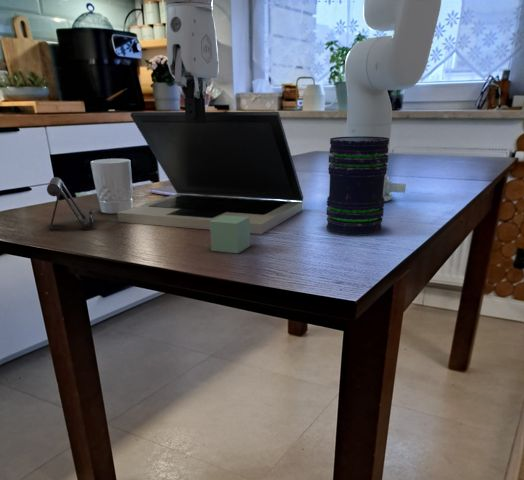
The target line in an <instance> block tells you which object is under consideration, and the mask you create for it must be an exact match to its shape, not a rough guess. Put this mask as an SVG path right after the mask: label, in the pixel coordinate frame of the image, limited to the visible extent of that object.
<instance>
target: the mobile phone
mask: <svg viewBox="0 0 524 480" xmlns="http://www.w3.org/2000/svg"><path fill="white" fill-rule="evenodd" d="M148 191H149V193H151V194H156V195H161V196H167V197H169V196H172V195H175V194H181V193H177V192H176V190H175V189H174V187H173V185H166V186H159V187H154V188H150V189H149V190H148ZM188 195H197V194H188Z"/></svg>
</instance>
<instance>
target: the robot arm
mask: <svg viewBox="0 0 524 480" xmlns="http://www.w3.org/2000/svg"><path fill="white" fill-rule="evenodd" d="M363 1H364V2H363V8H362V17H363V18H362V19H363V21H364V24H365V26H366V27H367V28H368V29H369V30H371V31H374V32H390V31H393V34H392V35H382V36H376V37H369V38H366V39H365V38H364V39H363V40H360V41H359V42H357V43H356V44H354V45H353V47H351V48H350V50H349V51H348V53H347V55H346V59H345V63H344V79H345V87H346V104H347V105H346V127H345V137H355V136H367V137H385V138H389V144H388V153H387V154H386V155H388V157H389V156H390V155H389V154H390V143H391V133H392V132H391V131H392V123H393V106H392V102H391V99H390V95H389V92H388V91H402V90H408V89H411V88H413V87H414V86H415V85H416V84H418V83H419V81H420V80H421V78H422V77H423V75H424V73H425V71H426V69H427V66H428V65H427V64H428V61H429V57H430V53H431V50H432V46H433V41H434V37H435V33H436V30H437V29H436V28H437V24H438V20H439V16H440V11H441V7H442V0H363ZM165 9H166V53H167V64H168V70H169V73H170V74H171V75H172V76H173V78H174V84H175V85H176V86H178V87H180V89H181V94H182V98H183V101H184V112H185V118H186V123H205V122H206V115H205V112H206V98H207V88H208V87H210V86H211V84H212V79H216V78H218V76H219V73H220V68H219V66H220V65H219V51H218V50H219V49H218V41H217V40H218V39H217V31H216V25H215V19H214V14H213V13H214V12H213V11H214V10H213V9H214V8H213V0H165ZM385 164H387V168H388V166H389V162H388V163H385ZM390 179H391V177H390V176H388V172H387V173H386V175H385V177H384V189H383V198H384V203H385V202H388V201H391V200H392V199H393V193H397V194H399V193H400V194H405V193H406V189H407V184H406V183H402V182H396V183H395V182H392V181H390Z"/></svg>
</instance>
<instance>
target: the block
mask: <svg viewBox="0 0 524 480" xmlns="http://www.w3.org/2000/svg"><path fill="white" fill-rule="evenodd" d="M209 231H210V232H209V233H210V247H211V251H212V252H221V253H231V254H240V253H241V252H243V251H244V250H246V249H248V248H249V247H251V233H250V219H249V217H241V216H227V215H223V216H220V217H218V218H216V219H214V220H211V221H210V230H209Z"/></svg>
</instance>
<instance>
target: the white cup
mask: <svg viewBox="0 0 524 480" xmlns="http://www.w3.org/2000/svg"><path fill="white" fill-rule="evenodd" d="M90 168H91V172H92V177H93V183H94V187H95V192H96V196H97V199H98V203H99V204H98V205H99V210H100V212H101V213H103V214H111V215H113V214H117V213H118V212H121V211H124V210H127V209H130V208H133V207H134V198H133V197H134V192H133V191H134V190H133V178H132V177H133V176H132V166H131V160H130V159H128V158H103V159H95V160H91V161H90Z"/></svg>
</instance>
